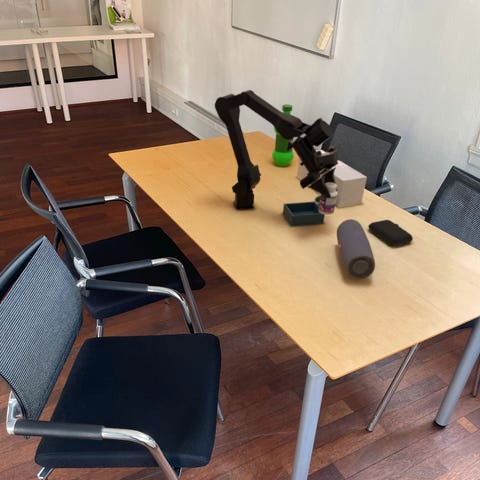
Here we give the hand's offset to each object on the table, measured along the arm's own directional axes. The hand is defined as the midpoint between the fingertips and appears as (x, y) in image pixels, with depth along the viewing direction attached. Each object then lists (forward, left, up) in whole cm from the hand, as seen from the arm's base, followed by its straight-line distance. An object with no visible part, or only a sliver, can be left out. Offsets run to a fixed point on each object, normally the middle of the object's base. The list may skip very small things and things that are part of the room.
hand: (333, 194), depth 156 cm
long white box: (+13, +33, -13) cm, 38 cm away
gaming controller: (+6, +19, -14) cm, 24 cm away
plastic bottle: (+4, +64, -13) cm, 66 cm away
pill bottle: (-1, +1, -7) cm, 7 cm away
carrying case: (+21, -8, -13) cm, 26 cm away
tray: (-5, +10, -13) cm, 18 cm away
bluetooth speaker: (0, -22, -14) cm, 26 cm away
